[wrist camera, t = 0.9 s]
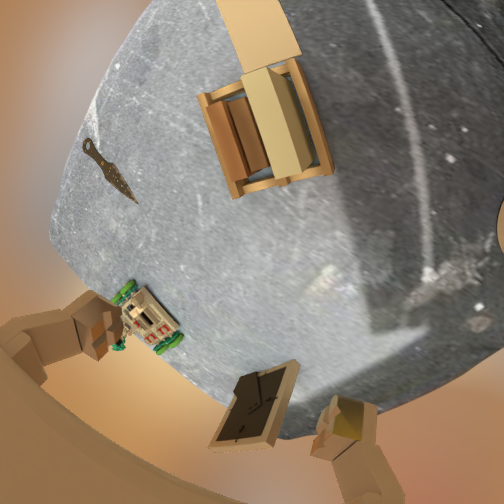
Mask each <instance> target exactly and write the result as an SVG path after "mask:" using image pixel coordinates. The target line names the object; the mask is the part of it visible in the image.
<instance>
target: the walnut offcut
mask: <svg viewBox="0 0 504 504" xmlns="http://www.w3.org/2000/svg"><path fill="white" fill-rule="evenodd" d="M228 105H229V108H230V111H231V114H232V116H233V119H234V122H235V125H236V128H237V131H238V134H239V137H240V139H241V142H242V145H243V148H244V151H245V154H246V157H247V160H248V163H249V166H250V169H251V172H253V171H256V170H260V169H263V168H267V167H269V166H271V164H270V161H269V158H268V155H267V152H266V149H265V146H264V143H263V140H262V137H261V134H260V131H259V128H258V125H257V123H256V120H255V117H254V114H253V111H252V108H251V105H250V103H249V100H248V97H242V98H240V99H237V100H234V101H232V102H229V103H228Z"/></svg>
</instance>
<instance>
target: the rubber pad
mask: <svg viewBox="0 0 504 504" xmlns="http://www.w3.org/2000/svg"><path fill="white" fill-rule="evenodd" d="M215 1H216V3H217V5H218V8H219V10H220V12H221V15H222V17H223V20H224V22H225V25H226V27H227V30H228V32H229V35H230V37H231V40H232V42H233V45H234V47H235V50H236V53H237V55H238V58H239V60H240V63H241V66H242V68H243V71H244V74H247V73H250V72H253V71H255V70H258V69H261V68H263V67H266V66H269V65H272V64H275V63H278V62H281V61H284V60H287V59H290V58H294V57H297V56H300V55H302V53H301V50H300V48H299V45H298V43H297V41H296V38H295V36H294V34H293V31H292V29H291V27H290V24H289V22H288V20H287V18H286V16H285V13H284V11H283V9H282V7H281V5H280V3H279V1H278V0H215Z"/></svg>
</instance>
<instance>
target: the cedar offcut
mask: <svg viewBox="0 0 504 504" xmlns="http://www.w3.org/2000/svg"><path fill="white" fill-rule="evenodd" d="M229 102H230V101H219V102H216V103H214V104H212V105H209V106H207V107H206V110H207V113H208V116H209V119H210V122H211V125H212V127H213V130H214V133H215V136H216V139H217V142H218V145H219V148H220V150H221V153H222V156H223V159H224V162H225V165H226V168H227V171H228V173H229V176H230V179H231V182H234V181H238V180H241V179H244V178H248V177H249V176H251V175H253V174H255V173H256V172H258V171H260V170H262V169H260V170H256V171H253V172H251V169H250V166H249V163H248V160H247V157H246V154H245V151H244V148H243V145H242V142H241V139H240V137H239V134H238V131H237V128H236V125H235V122H234V119H233V116H232V114H231V111H230V108H229V105H228V103H229Z"/></svg>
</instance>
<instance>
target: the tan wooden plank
mask: <svg viewBox="0 0 504 504" xmlns="http://www.w3.org/2000/svg"><path fill="white" fill-rule="evenodd" d="M240 78H241V80H242V83H243V86H244V89H245V91H246V94H247V97H248V100H249V103H250V105H251V108H252V111H253V114H254V117H255V120H256V123H257V125H258V128H259V131H260V134H261V137H262V140H263V143H264V146H265V149H266V152H267V155H268V158H269V161H270V164H271V167H272V170H273V173H274V177H275V180H276V179H280V178H284V177H288V176H291V175H295V174H299V173H302V172H303V171H304V170H305V169H306V168H307V167H308V166H309V165H310V164H311V163H312V162H313V161H314V160H315V159H316V155H315V152H314V149H313V146H312V142H311V139H310V136H309V133H308V130H307V127H306V124H305V121H304V118H303V115H302V112H301V109H300V106H299V103H298V100H297V97H296V94H295V92H294V89H293V86H292V83H291V81H289V80H287V79H286V78H284V77H283V76H281V75H279V74H278V73H276V72H274V71H273V70H271V69H269V68H268V67H263V68H261V69H258V70H255V71H253V72H250V73H247V74H245V75H242V76H240Z"/></svg>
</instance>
